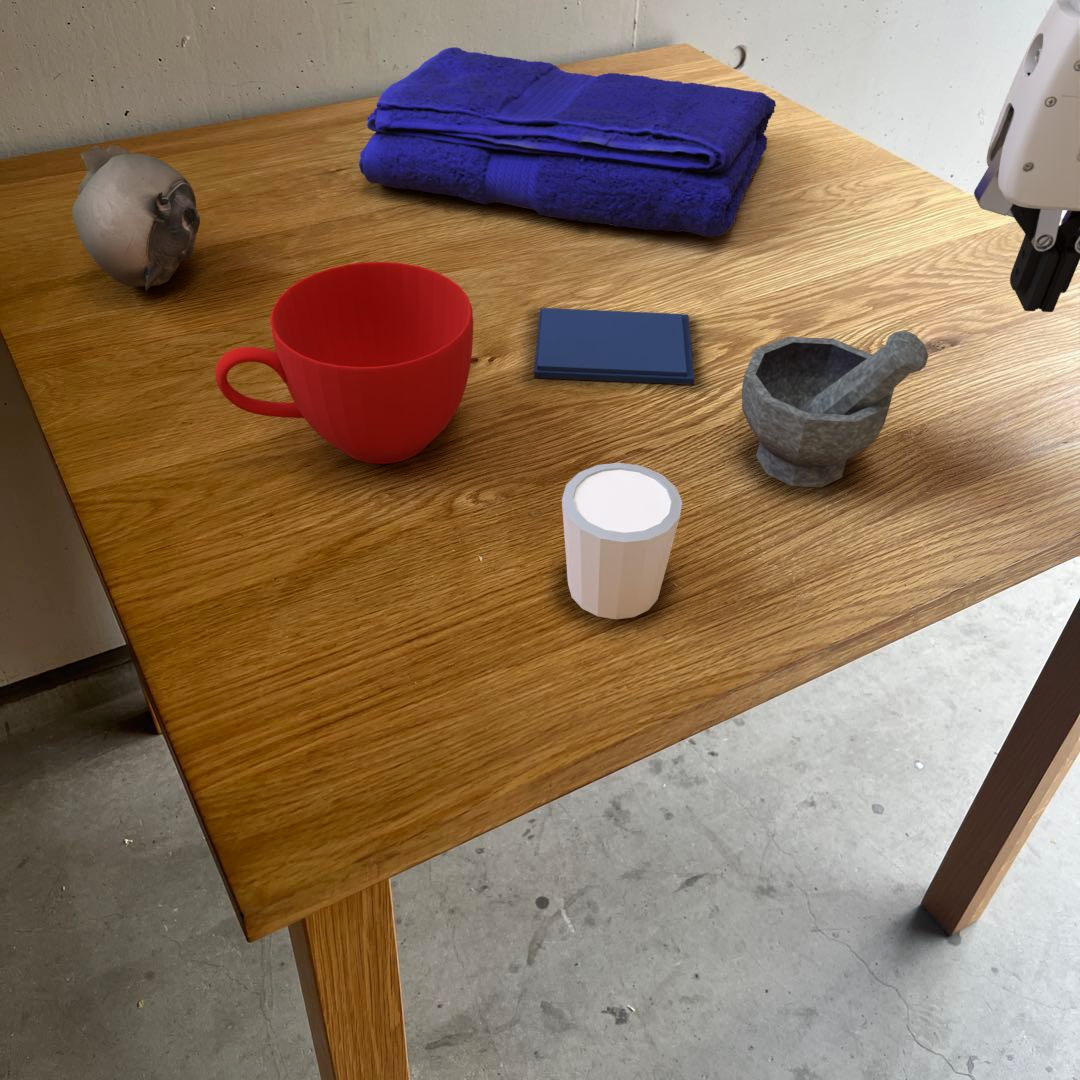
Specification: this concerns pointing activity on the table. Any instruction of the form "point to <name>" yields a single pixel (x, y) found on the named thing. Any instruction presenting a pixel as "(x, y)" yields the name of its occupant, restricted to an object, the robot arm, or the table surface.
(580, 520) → the beige tapered cup
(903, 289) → the table surface
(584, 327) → the blue flat slab
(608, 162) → the towel
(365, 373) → the ceramic cup
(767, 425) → the mortar and pestle
